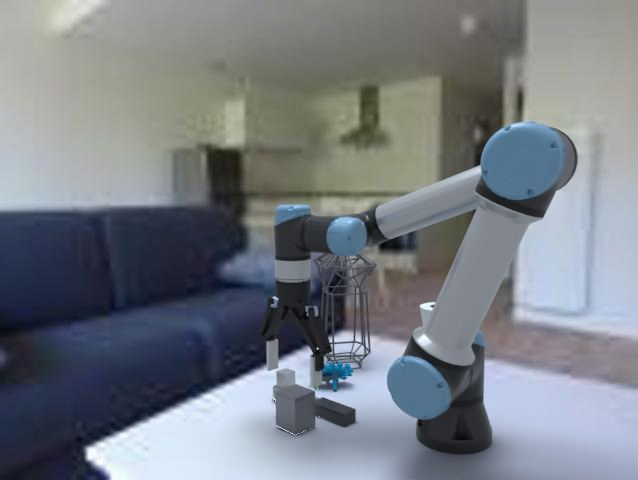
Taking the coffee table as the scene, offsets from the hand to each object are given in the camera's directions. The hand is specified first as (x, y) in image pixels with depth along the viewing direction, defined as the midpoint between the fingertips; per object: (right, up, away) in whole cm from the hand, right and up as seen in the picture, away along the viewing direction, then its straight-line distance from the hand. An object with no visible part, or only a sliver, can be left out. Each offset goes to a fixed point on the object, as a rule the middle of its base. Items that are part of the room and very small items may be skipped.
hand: (293, 377), depth 121 cm
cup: (+38, -7, +35) cm, 52 cm away
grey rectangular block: (0, -11, +1) cm, 11 cm away
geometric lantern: (+13, -7, +41) cm, 43 cm away
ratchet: (+4, -10, +10) cm, 15 cm away
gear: (+9, -9, +25) cm, 28 cm away
